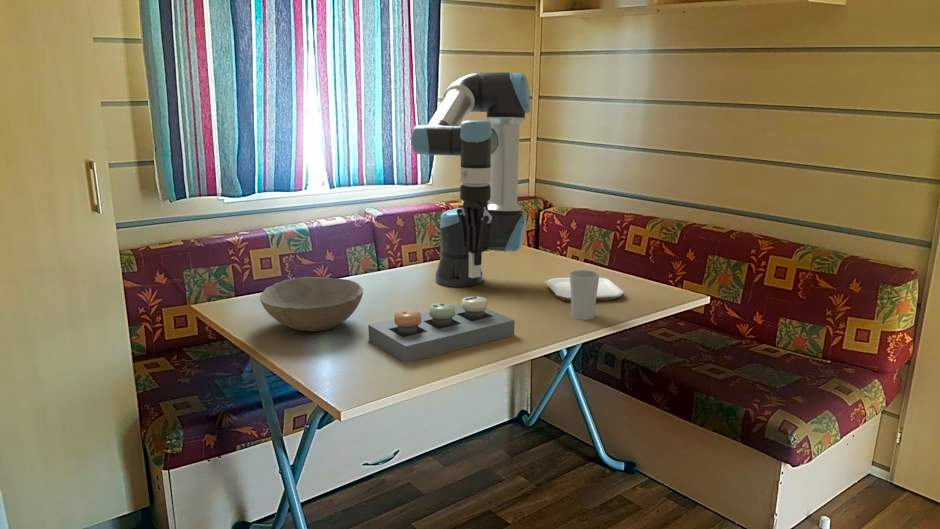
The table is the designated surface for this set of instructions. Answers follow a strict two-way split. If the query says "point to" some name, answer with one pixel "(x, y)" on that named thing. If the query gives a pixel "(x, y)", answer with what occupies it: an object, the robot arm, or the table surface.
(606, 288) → the plate
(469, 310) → the button three
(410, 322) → the button one
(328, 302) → the bowl
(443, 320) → the button two
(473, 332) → the console
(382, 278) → the table surface
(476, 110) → the robot arm
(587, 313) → the cup
